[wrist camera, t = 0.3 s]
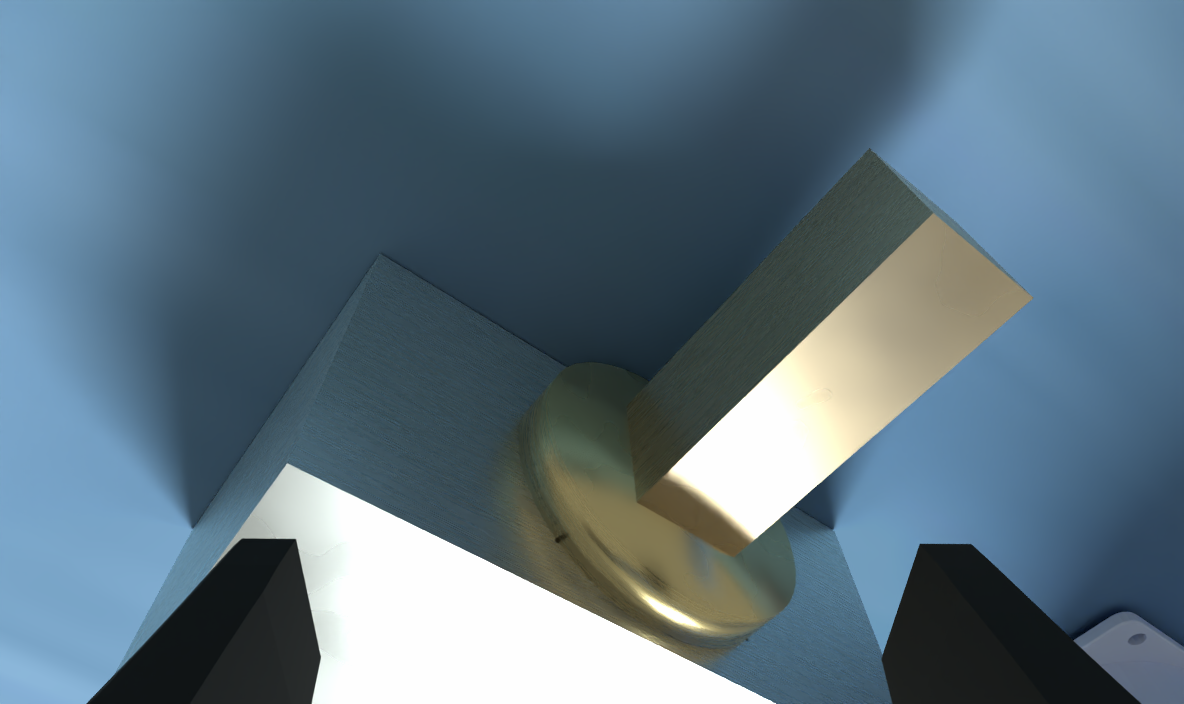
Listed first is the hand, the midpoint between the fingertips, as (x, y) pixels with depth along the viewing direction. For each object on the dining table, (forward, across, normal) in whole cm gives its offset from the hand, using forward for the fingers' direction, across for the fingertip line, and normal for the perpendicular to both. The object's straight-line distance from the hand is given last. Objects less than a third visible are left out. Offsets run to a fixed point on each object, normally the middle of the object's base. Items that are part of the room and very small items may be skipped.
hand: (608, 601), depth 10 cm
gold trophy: (+9, -2, +3) cm, 10 cm away
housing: (+10, +2, +8) cm, 13 cm away
